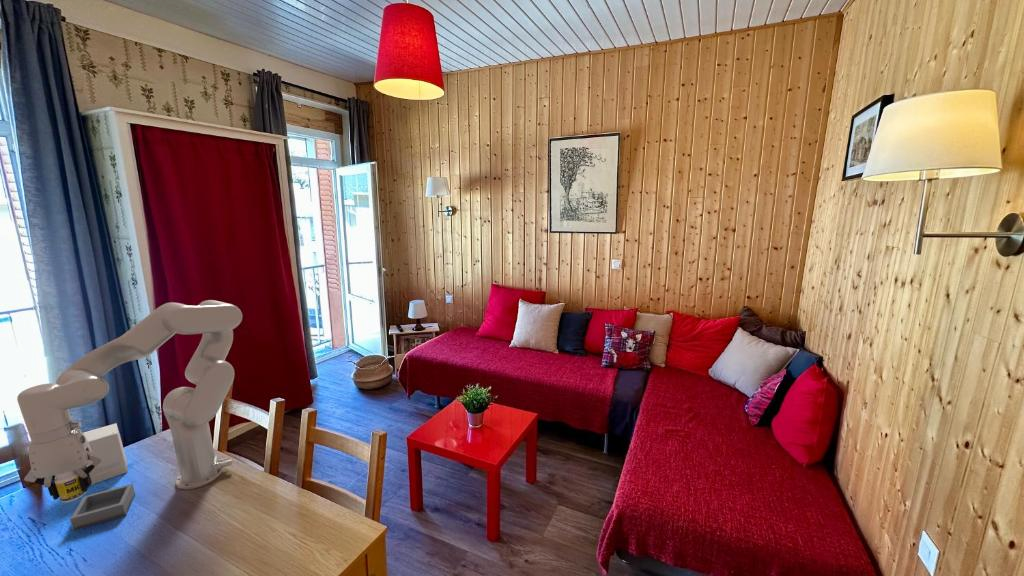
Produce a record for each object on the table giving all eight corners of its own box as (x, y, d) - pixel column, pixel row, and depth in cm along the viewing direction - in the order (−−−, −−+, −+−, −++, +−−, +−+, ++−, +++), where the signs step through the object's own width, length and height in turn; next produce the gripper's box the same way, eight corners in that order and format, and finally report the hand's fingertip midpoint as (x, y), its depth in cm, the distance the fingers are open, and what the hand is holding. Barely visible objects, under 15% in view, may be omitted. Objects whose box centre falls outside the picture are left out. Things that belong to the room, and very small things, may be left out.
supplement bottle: (69, 504, 107) (60, 476, 105) (56, 501, 108) (46, 474, 106) (91, 491, 112) (82, 464, 109) (78, 488, 112) (69, 462, 110)
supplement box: (127, 460, 145) (117, 422, 142) (128, 472, 139) (118, 433, 135) (91, 472, 139) (80, 432, 136) (90, 485, 133) (78, 444, 129)
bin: (135, 494, 129) (132, 483, 128) (125, 515, 120) (122, 504, 119) (87, 507, 123) (84, 496, 123) (73, 531, 115) (70, 519, 114)
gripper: (102, 415, 112) (119, 472, 117) (12, 434, 104) (34, 495, 109) (92, 429, 106) (110, 489, 110) (-5, 450, 98) (19, 514, 102)
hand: (72, 491), depth 109 cm, fingers closed on supplement bottle, 4 cm apart
